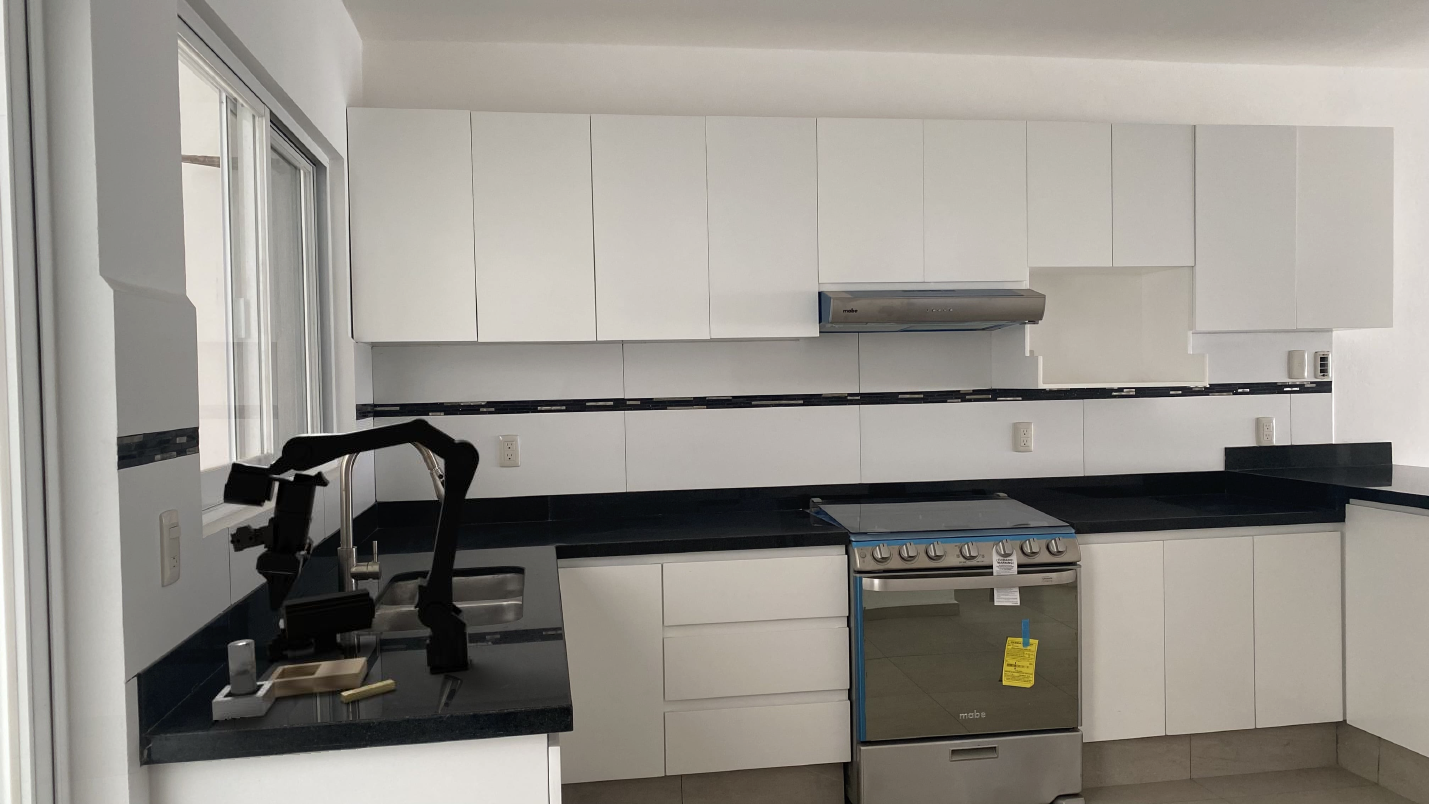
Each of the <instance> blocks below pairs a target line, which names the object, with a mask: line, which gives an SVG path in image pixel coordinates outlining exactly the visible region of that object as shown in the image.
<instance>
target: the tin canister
mask: <svg viewBox="0 0 1429 804" xmlns="http://www.w3.org/2000/svg"><path fill="white" fill-rule="evenodd" d="M254 640H255V639H254ZM254 640H253V639H241V640H235V641H233V642H230V643H229V644H228V645H227V652H228V653H227V654H228V667H229V668H228V669H229V682H230V683H229V685H231V697H237V696H246V695H255V694H257V682H258V681H257V666H256V651H255V641H254Z"/></svg>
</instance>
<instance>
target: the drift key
mask: <svg viewBox="0 0 1429 804" xmlns="http://www.w3.org/2000/svg"><path fill="white" fill-rule="evenodd" d="M395 687H396V686H395V681H394V680H392V679H388V680H383V681H380V682H376V683H373V684H369V685H365V686H362V687H361V686H360V687H359V688H353V689H349V690H347V691H344V692H340V700H341V702H342V703H345V704H346V703H347V704H348V703H350V702H353V701H354V702H355V701H357V700H358V701H359V700H360V699H363V698H368V697H371V696H375V695H379V694H383V693H386V692H390V691H392V690H395V689H396V688H395Z"/></svg>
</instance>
